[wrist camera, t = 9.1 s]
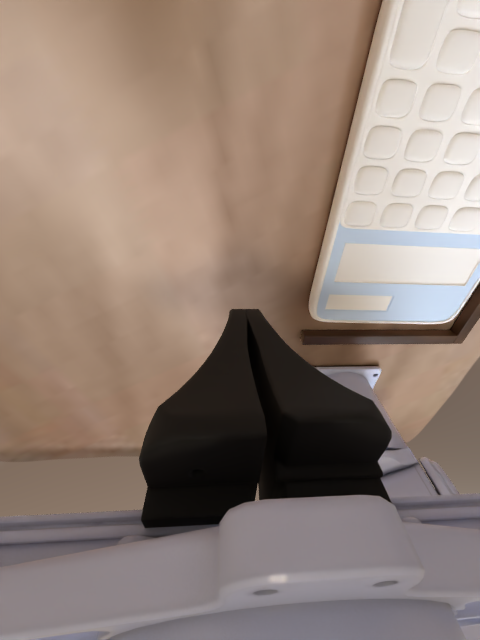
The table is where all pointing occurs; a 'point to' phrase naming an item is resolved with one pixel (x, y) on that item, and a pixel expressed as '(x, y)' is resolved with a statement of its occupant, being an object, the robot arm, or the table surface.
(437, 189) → the calculator
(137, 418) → the table surface
